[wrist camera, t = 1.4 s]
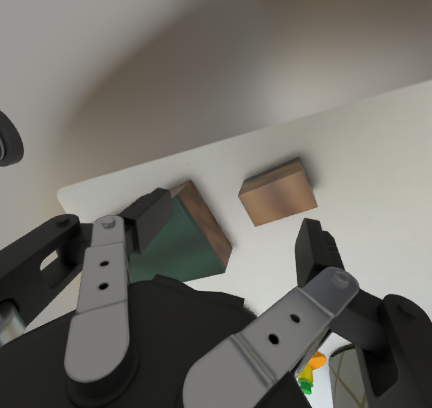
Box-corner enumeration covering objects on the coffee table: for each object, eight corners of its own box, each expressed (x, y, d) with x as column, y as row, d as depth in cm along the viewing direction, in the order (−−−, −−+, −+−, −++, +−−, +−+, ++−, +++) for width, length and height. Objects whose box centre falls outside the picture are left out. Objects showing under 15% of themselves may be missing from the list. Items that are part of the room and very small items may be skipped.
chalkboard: (93, 227, 45) (69, 245, 40) (190, 180, 33) (174, 196, 28) (134, 275, 49) (117, 297, 44) (232, 247, 38) (225, 273, 33)
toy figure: (308, 303, 39) (318, 379, 29) (324, 313, 39) (339, 392, 29) (284, 317, 43) (284, 390, 33) (298, 327, 43) (303, 401, 33)
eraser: (258, 208, 33) (255, 226, 28) (243, 180, 31) (237, 195, 27) (312, 189, 29) (317, 207, 25) (298, 157, 28) (302, 170, 23)
